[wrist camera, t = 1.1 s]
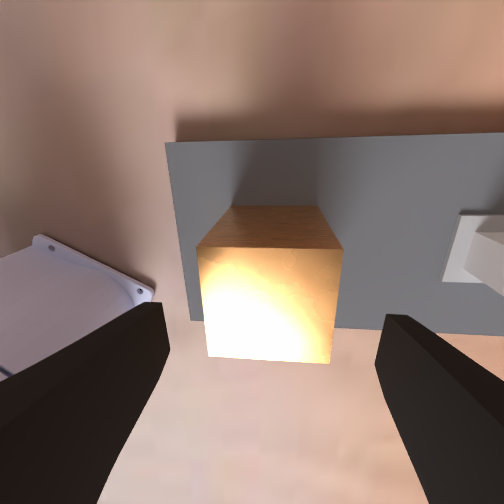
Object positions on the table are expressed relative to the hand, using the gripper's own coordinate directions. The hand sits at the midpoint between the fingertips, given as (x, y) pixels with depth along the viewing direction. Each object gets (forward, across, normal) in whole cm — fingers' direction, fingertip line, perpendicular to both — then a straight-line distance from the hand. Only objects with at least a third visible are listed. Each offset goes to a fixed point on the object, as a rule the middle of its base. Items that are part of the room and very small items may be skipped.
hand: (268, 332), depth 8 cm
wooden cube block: (+8, 0, 0) cm, 8 cm away
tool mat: (+9, -6, 0) cm, 11 cm away
